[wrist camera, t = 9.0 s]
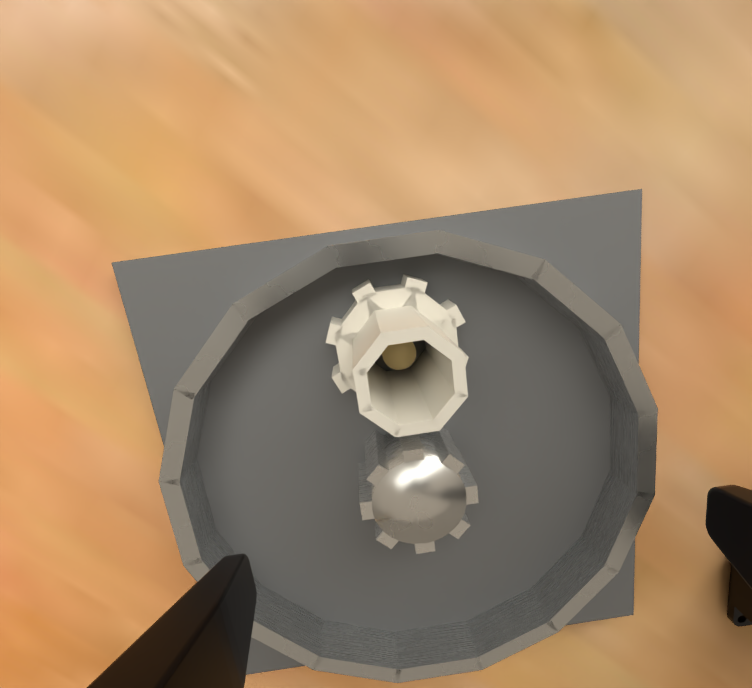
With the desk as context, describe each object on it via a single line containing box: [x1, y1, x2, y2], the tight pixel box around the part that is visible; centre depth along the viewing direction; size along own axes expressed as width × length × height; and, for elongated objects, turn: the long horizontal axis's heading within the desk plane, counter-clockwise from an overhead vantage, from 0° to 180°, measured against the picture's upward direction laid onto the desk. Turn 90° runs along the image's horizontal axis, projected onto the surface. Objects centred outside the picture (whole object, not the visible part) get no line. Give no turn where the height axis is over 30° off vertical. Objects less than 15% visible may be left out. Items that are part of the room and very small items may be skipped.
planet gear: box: [326, 274, 469, 437], centre depth 16 cm, size 6×6×6 cm
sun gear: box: [359, 427, 479, 554], centre depth 18 cm, size 5×5×3 cm
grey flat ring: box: [159, 230, 658, 683], centre depth 19 cm, size 21×21×2 cm
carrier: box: [112, 189, 642, 675], centre depth 19 cm, size 22×22×3 cm
